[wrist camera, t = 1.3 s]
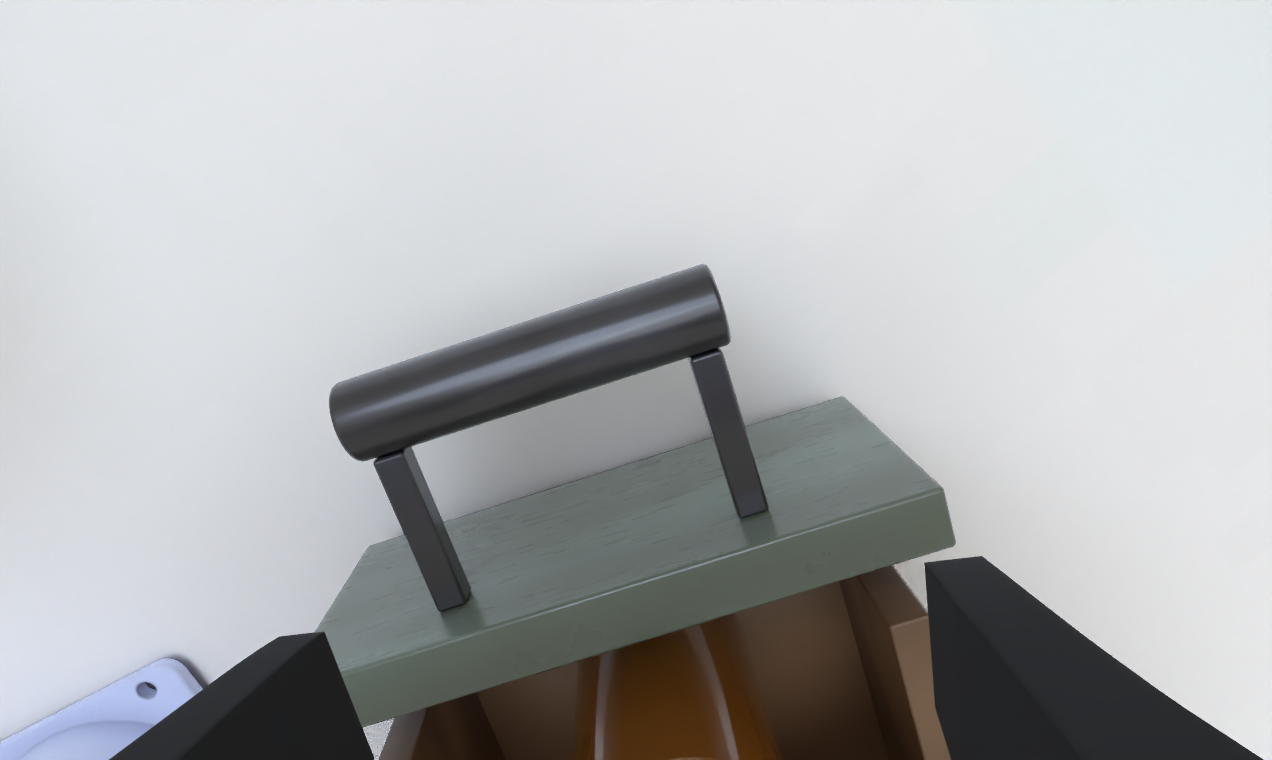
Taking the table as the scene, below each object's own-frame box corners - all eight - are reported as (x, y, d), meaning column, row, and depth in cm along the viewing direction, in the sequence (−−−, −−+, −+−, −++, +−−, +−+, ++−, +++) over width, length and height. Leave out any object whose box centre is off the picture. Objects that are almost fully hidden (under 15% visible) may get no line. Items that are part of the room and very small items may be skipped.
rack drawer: (287, 370, 18) (148, 458, 13) (794, 205, 18) (883, 218, 12) (535, 914, 23) (514, 1157, 17) (947, 794, 22) (1063, 1003, 17)
